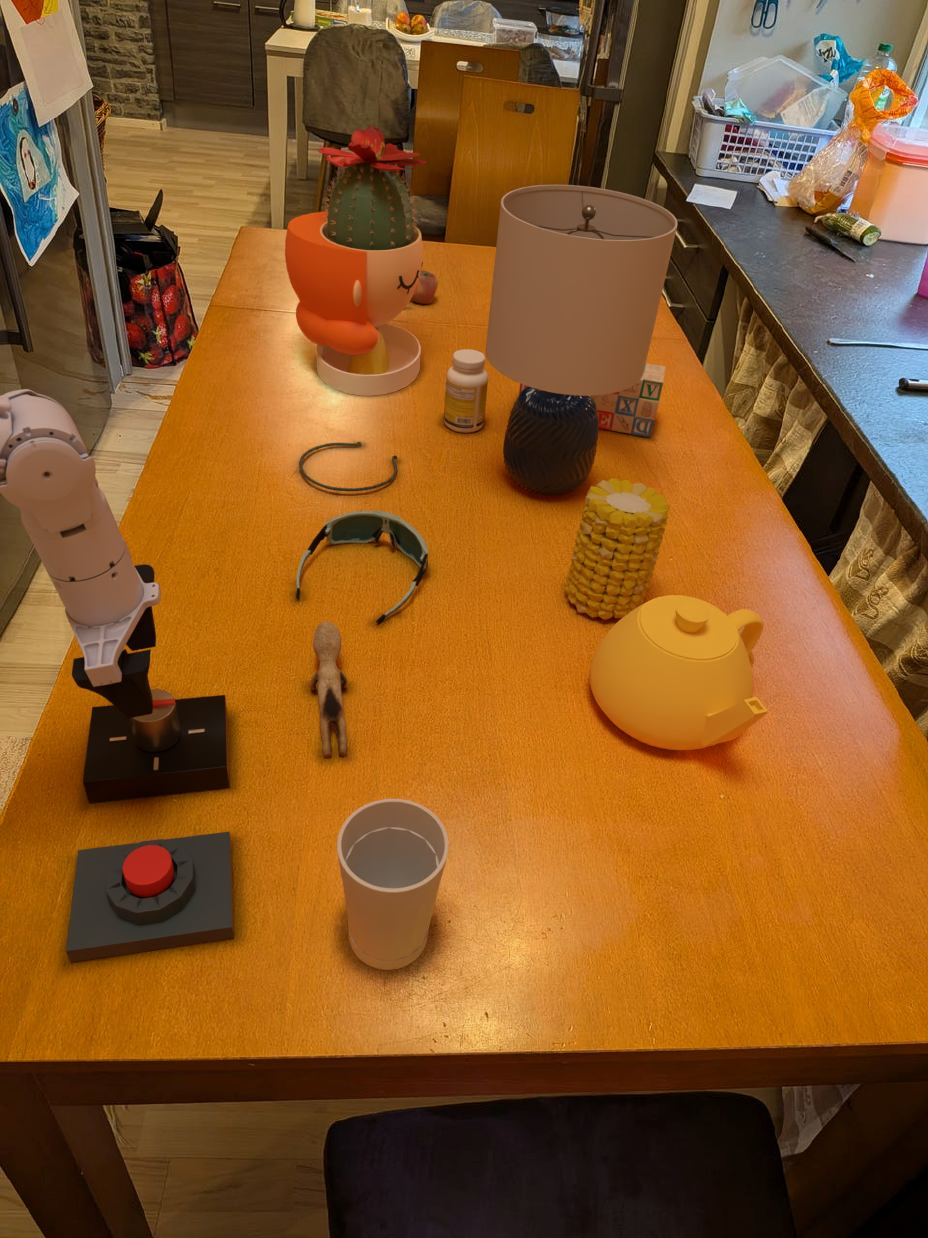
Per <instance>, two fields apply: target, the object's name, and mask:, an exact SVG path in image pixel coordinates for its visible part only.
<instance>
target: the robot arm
mask: <svg viewBox="0 0 928 1238" xmlns="http://www.w3.org/2000/svg"><path fill="white" fill-rule="evenodd" d="M96 473H97V472H96V463H95V459H94V457H92V456H90V454H89V452H88V449H87V447H86V446H85V443H84V441H83V439H82V437H81V435H80V433H79V431H78V428H77V426H76V424H75V422H74V419H73V418H72V417H71V415H70V414H69V412H68V411H67V410H66V408H65V407H64V406H63V404H61V403H59V401H57V400H55V399H54V398H52V397H49V396H47V395H45V394H41V393H37V392H35V391H33V390H31V389H29V388H26V389H16V390H12V391H8V392H6V393H4V394H1V395H0V495H1V496H2V497H3V499H5V500H6V501H7V502H9V503H10V504H11V505H13V506H14V507H16V508H17V509H19V511H20V519H21V523H22V525H23V527H24V529H25V531H26V533H27V535H28V537H29V539H30V541H31V543H32V544H33V547H34V549H35V551H36V553H37V555H38V557H39V559H40V561H41V562H42V565H43V567H44V568H45V571H46V572H47V574H48V576H49V578H50V581H51V582H52V585H53V586H54V589H55V590H56V593H57V594H58V596H59V598H60V600H61V602H62V604H63V606H64V613H65V616H66V618H67V622H68V623H69V625H70V627H71V630H72V632H73V634H74V636H75V639H76V641H77V643H78V646H79V648H80V650H81V652H82V656H81V657H75V658H73V662H72V668H71V677H72V679H73V681H74V682H75V683H74V684H76V686H77V687H78V688H81V689H85V690H88V691H90V692H93V693H95V694H97V695H99V696H101V697H103V698H104V699H105V700H107V701H108V702H109V703H110V704H111V705H114V706H115V707H116V708H117V709H118V710H119V711H120V712H122V713H123V714H124V715H125V716H126V717H127V718H133V717H139V716H144V715H149V714H152V713H153V698H152V693H151V686H150V682H149V670H150V665H151V652H152V651H151V648H156V647H157V632H156V624H155V620H154V611H153V607H155V606H158V604H160V603H161V600H162V589H161V587H160V585H159V583H158V582H155V574H156V573H155V572H156V571H155V570H154V568H153V566H152V565H151V564H147V563H146V564H136V565H134V563H133V560H132V554H131V552H130V550H129V547H128V545H127V542H126V540H125V538H123V535H122V533H121V530H120V528H119V526H118V523H117V521H116V518H115V516H114V514H113V511H112V509H111V507H110V505H109V501H108V499H107V497H106V495H105V493H104V491H103V490H102V489H101V488H100V487H99V482H98V479H97V477H96ZM126 646H127V647H128V649H129V650H130V651H132V652H128V651H127V649H126V648H125V647H126Z"/></svg>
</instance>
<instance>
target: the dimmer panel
mask: <svg viewBox="0 0 928 1238" xmlns="http://www.w3.org/2000/svg"><path fill="white" fill-rule="evenodd" d="M174 699H175V703H176V708H177V714H178V720H179V725H180V731H181V734H180V737H179V740H178V741H177V742H176V743H175V744H174V745H173V746H172V747H170V748H168V749H166V750H163V751H159V752H148V751H144V750H142V749H140V748H139V747H138V746H137V745H136V743H135V740H134V736H133V731H132V727H131V723H130V718H127V717H126V716H125V715H124V714H123V713H122V712H120V711H119V710H118V709H117V708H116V707H115V706H114V705H113V704H110V705H108V704H107V705H97V706H92V707H91V712H90V713H91V714H90V720H89V721H90V722H89V729H88V738H87V746H86V753H85V760H84V767H83V776H82V785H83V788H84V790H85V791H84V792H85V795H86V798H87V801H88V802H87V803H88V804H89V805H91V804H93V805H94V804H100V803H101V804H102V803H109V802H117V801H126V800H127V801H128V800H136V799H137V800H138V799H145V798H146V799H147V798H155V797H162V796H163V797H164V796H173V795H181V794H190V793H197V792H198V793H199V792H207V791H215V790H224V789H225V790H226V789H230V788H231V787H230V785H231V784H230V783H231V781H230V749H229V747H230V745H229V744H230V743H229V715H228V714H229V713H228V707H227V700H226V694H219V695H218V694H217V695H209V696H208V695H207V696H198V697H197V696H196V697H186V698H185V697H184V698H174Z"/></svg>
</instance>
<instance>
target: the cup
mask: <svg viewBox="0 0 928 1238" xmlns="http://www.w3.org/2000/svg"><path fill="white" fill-rule="evenodd" d="M449 851H450V841H449V835H448V831H447V830H446V828H445V826H444V823H442V821H441V820H440V818H439V817H438V816H437V815H436V814H435V813H434V812H433V811H431V810H430V809H429V808H427V807H426V806H424V805H422V804H421V803H418V802H415V801H412V800H410V799H409V800H408V799H403V798H383V799H382V798H381V799H378V800H373V801H370V802H368V803H365V804H363V805H362V806H360V807H359V808H357V809H356V810H353V812H352V813H351V814H349V816H348V817H347V818H346V819H345V821H344V822H343V823H342V826H341V827H340V829H339V832H338V835H337V839H336V852H337V853H336V854H337V858H338V865H339V870H340V875H341V877H340V878H341V881H342V887H343V888H342V889H343V894H344V901H345V902H344V903H345V909H346V915H347V916H346V917H347V923H348V942H349V945H350V947H351V949H352V950H351V951H352V952H353V953H354V955H355V956H356V957H357V958H358V959H359V960H360V961H361V962H363V963H364V964H365V965H367V966H369V967H370V968H371V967H372V968H374V969H377V970H384V971H392V970H398V969H401V968H405V967H407V966H409V965H410V964H412V963H413V962H415V961H416V960H417V959H418V958H419V957H420V956H421V954H422V953H423V952H424V949H425V948H426V945H427V943H428V938H429V928H430V924H431V921H432V917H433V913H434V909H435V904H436V901H437V897H438V892H439V888H440V884H441V882H442V877H443V874H444V870H445V867H446V863H447V860H448V856H449Z"/></svg>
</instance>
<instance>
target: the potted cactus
mask: <svg viewBox="0 0 928 1238" xmlns="http://www.w3.org/2000/svg"><path fill="white" fill-rule="evenodd" d="M350 140H351V141H350V142H349V143H348V145H347V149H348V151H345V150H342V149H339V148H335V147H327V146H324V147H319V148H318V153H320V154H323V155H325V158H326V159H325V160H326V162H329V163H330V164H332V165H334V166H335V167H337V168H340V170H339V169H337V171H336V175H334V178H335V179H336V181H334V179H333V178H331V179H332V180H330V183H331V185H328V191H329V193H327V195H326V197H327V196H328V197H330V198H325V199H324V202H323V204H324V206H326V207H324V209H323V211H318V212H317V211H315V212H310V213H306V214H302V215H298V216H297V217H294V218H292V219H291V220H290V221H289V222H288V223H287V224H288V225H287V229H286V234H285V241H284V259H285V264H286V265H285V267H286V271H287V275H288V279H289V282H290V285H291V287H292V289H293V291H294V294H295V295H296V296H297V298H298V301H299V302H298V303H297V304H296V308H295V319H296V323H297V326H298V328H299V330H300V331H301V333H302V334H303V335H304V336H305V338H306V339H308V340H309V341H310V342H311V343H312V344H315V345H316V348H315V349H316V372H317V375H318V377H319V379H320V380H321V381H322V382H323V383H325V385H327V386H329V387H330V388H332V389H334V390H336V391H338V392H341V393H344V394H348V395H354V396H355V395H356V396H365V397H366V396H369V397H370V396H381V395H388V394H391V393H394V392H397V391H399V390H402V389H404V388H406V387H408V386H409V385H411V384H412V383H413V382H414V381H415V380H416V379H417V378H418V375H419V374H420V371H421V370H420V369H421V351H422V346H421V343H420V341H419V339H418V338H417V337H416V335H414V334H413V333H412V331H411V332H410V331H409V330H408V329H406V328H404V327H402V326H400V325H399V326H398V325H396V324H393V323H389V322H391V321H393V320H394V319H396V318H397V317H398V316H399V315H400V314H401V313H402V312H403V311H405V310H406V309H407V306H408V305H409V303H410V301H412V300H411V298H412V296H413V294H414V295H415V294H417V292H418V290H419V285H420V282H419V278H420V273H421V271H422V267H423V264H424V262H423V259H424V258H423V256H424V254H423V253H424V249H423V247H424V246H423V237H422V232H421V230H420V228H418V224H415V223H418V222H419V220H418V219H417V217H416V218H413V216H418V215H419V214H417V211H418V210H417V209H418V208H412V207H415V204H416V201H415V198H411V199H410V197H413V196H414V197H415V196H416V195H415V192H414V191H412V189H411V188H412V187H410V182H407V183H406V172H405V173H403V172H402V173H403V174H402V175H400V171H405V170H406V168H404V167H411V166H412V167H413V166H414V167H415V166H423V165H426V164H427V161H424V160H422V159H420V158H419V159H417V157H419V156H420V155H421V154H420V153H419V152H407V151H405V150H402V149H398V148H397V146H396V145H395V144H392V143H387V144H385V136H384V134H383V132H382V131H381V130H380V129H379V128H377V127H375V126H373V125H370V126H368V127H366V128H365V129H357V130H355V131H354V132H353V133H352V134H351V139H350ZM349 151H350V152H349ZM340 172H341V173H340ZM405 183H406V184H405ZM410 189H411V190H410ZM410 191H412V192H410ZM409 192H410V193H409ZM327 202H328V203H327Z"/></svg>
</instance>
